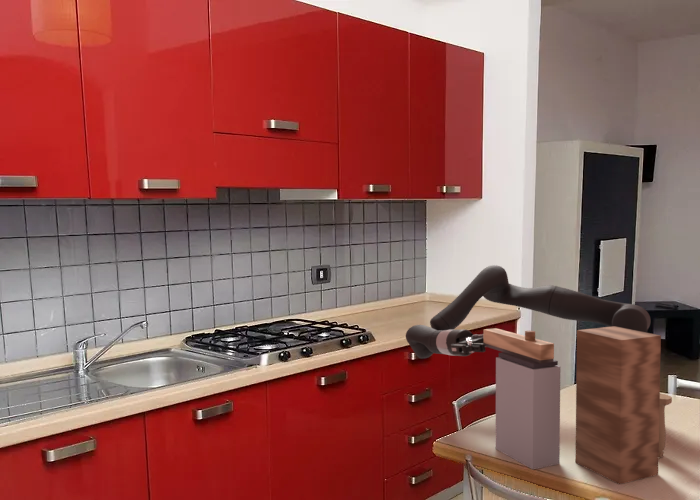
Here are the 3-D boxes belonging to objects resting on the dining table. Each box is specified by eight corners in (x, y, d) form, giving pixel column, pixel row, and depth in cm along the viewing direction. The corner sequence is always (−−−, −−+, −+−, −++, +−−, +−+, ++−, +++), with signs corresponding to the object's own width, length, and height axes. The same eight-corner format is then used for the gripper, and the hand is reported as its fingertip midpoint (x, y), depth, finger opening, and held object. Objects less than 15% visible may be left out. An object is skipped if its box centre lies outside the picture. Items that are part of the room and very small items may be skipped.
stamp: (495, 344, 161) (496, 320, 160) (554, 362, 140) (554, 335, 140) (483, 345, 159) (483, 321, 159) (540, 363, 139) (540, 336, 138)
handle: (666, 462, 143) (667, 400, 142) (638, 454, 147) (639, 394, 147) (673, 456, 146) (674, 396, 145) (645, 449, 151) (647, 391, 150)
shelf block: (612, 454, 148) (614, 326, 146) (658, 474, 136) (660, 335, 134) (575, 462, 143) (577, 330, 141) (619, 484, 131) (621, 340, 130)
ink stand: (520, 443, 155) (521, 349, 154) (559, 463, 142) (560, 361, 141) (495, 448, 152) (496, 352, 151) (532, 469, 139) (533, 364, 138)
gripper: (475, 348, 177) (516, 350, 163) (439, 361, 169) (479, 364, 156) (470, 323, 177) (510, 323, 163) (433, 336, 169) (473, 336, 156)
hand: (495, 343), depth 159 cm, fingers open, 8 cm apart
